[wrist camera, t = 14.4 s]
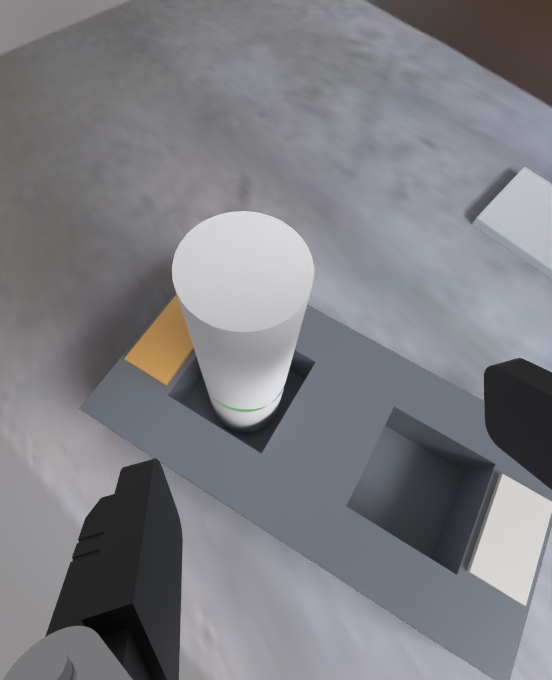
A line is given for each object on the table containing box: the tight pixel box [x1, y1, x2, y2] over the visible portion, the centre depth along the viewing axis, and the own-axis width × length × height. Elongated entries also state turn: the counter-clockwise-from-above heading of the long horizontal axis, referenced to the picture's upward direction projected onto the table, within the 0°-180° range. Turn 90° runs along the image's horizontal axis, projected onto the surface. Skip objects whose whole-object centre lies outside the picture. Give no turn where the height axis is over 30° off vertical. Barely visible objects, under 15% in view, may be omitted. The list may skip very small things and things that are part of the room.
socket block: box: [79, 291, 552, 680], centre depth 24 cm, size 24×12×5 cm, turn 59°
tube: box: [172, 211, 314, 433], centre depth 19 cm, size 4×4×15 cm
